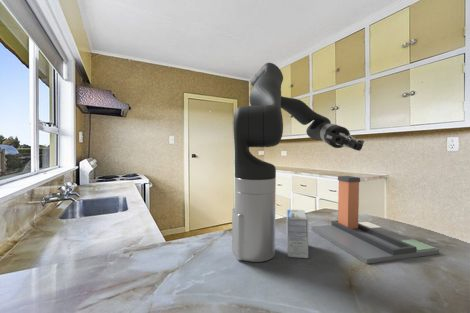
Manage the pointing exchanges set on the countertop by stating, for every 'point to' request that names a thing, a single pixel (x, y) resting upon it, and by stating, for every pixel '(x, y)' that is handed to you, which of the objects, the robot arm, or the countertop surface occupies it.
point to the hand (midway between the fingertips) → (359, 147)
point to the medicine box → (297, 234)
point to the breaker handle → (348, 201)
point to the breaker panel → (373, 242)
